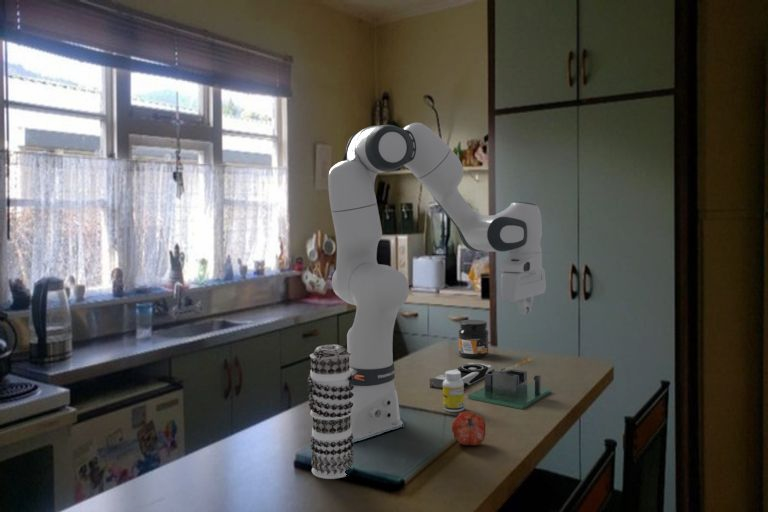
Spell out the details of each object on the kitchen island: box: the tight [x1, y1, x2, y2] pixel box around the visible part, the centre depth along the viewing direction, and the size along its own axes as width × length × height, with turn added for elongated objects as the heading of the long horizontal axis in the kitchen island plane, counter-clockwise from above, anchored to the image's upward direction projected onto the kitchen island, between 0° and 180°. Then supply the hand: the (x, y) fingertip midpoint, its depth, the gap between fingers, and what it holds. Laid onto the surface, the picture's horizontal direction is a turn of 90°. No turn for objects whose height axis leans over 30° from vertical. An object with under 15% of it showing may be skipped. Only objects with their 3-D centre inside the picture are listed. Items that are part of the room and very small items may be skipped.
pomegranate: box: [451, 410, 486, 446], centre depth 137 cm, size 7×7×10 cm
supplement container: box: [457, 319, 490, 359], centre depth 218 cm, size 10×10×12 cm
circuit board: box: [467, 367, 552, 410], centre depth 171 cm, size 18×16×6 cm
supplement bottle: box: [442, 369, 465, 413], centre depth 160 cm, size 5×5×10 cm
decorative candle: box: [306, 344, 355, 480], centre depth 124 cm, size 9×9×25 cm
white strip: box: [492, 357, 532, 375], centre depth 171 cm, size 3×14×1 cm, turn 52°
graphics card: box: [429, 362, 495, 390], centre depth 188 cm, size 10×3×25 cm
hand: (524, 314), depth 167 cm, fingers closed
